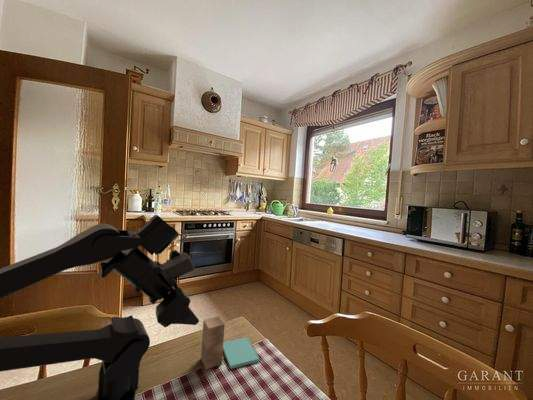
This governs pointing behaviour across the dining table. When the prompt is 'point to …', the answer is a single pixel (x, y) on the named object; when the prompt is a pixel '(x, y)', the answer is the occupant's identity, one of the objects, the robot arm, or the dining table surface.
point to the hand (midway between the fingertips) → (192, 312)
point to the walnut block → (212, 342)
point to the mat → (239, 353)
